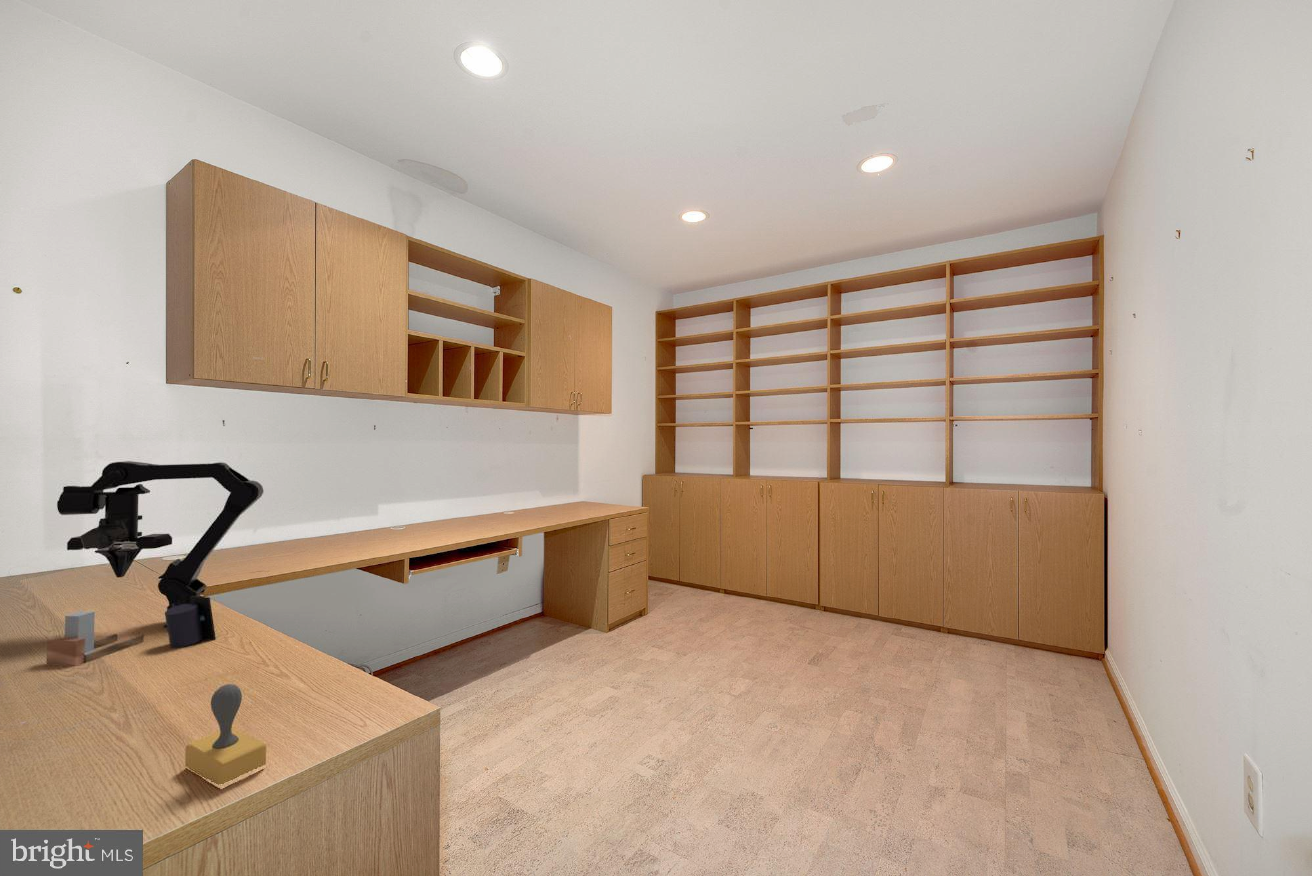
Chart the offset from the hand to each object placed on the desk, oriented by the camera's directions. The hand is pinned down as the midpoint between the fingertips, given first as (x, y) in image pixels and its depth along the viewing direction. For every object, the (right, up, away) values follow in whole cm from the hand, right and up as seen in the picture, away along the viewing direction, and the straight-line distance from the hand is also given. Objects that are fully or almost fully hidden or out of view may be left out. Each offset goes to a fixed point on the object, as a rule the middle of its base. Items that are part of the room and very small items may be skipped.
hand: (120, 577), depth 129 cm
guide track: (+8, -13, -14) cm, 21 cm away
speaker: (+23, -14, -8) cm, 28 cm away
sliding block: (+8, -13, -17) cm, 23 cm away
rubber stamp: (+69, -14, -53) cm, 88 cm away
